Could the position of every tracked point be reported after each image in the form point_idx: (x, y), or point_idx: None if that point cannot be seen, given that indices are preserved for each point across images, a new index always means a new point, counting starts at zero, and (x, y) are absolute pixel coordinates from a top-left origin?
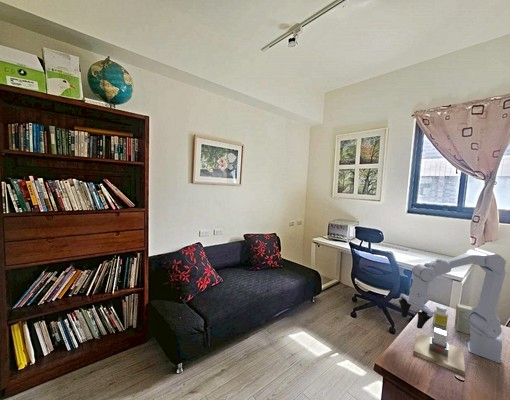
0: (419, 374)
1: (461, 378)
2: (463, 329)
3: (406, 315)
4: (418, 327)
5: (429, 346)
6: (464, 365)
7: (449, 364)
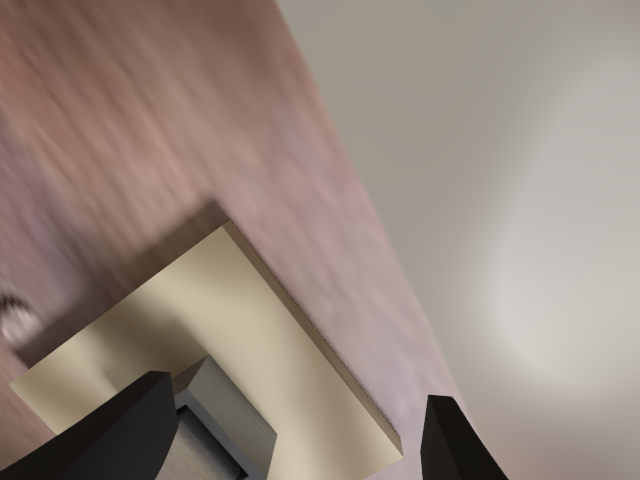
0: (43, 72)
1: (9, 327)
2: None
3: (425, 473)
4: (139, 379)
5: (243, 393)
6: (57, 434)
7: (68, 352)
